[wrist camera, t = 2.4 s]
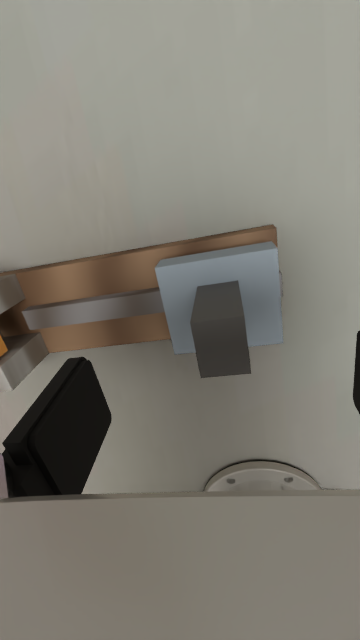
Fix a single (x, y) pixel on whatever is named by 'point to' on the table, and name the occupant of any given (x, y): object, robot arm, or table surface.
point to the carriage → (222, 305)
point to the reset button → (2, 347)
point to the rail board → (94, 301)
